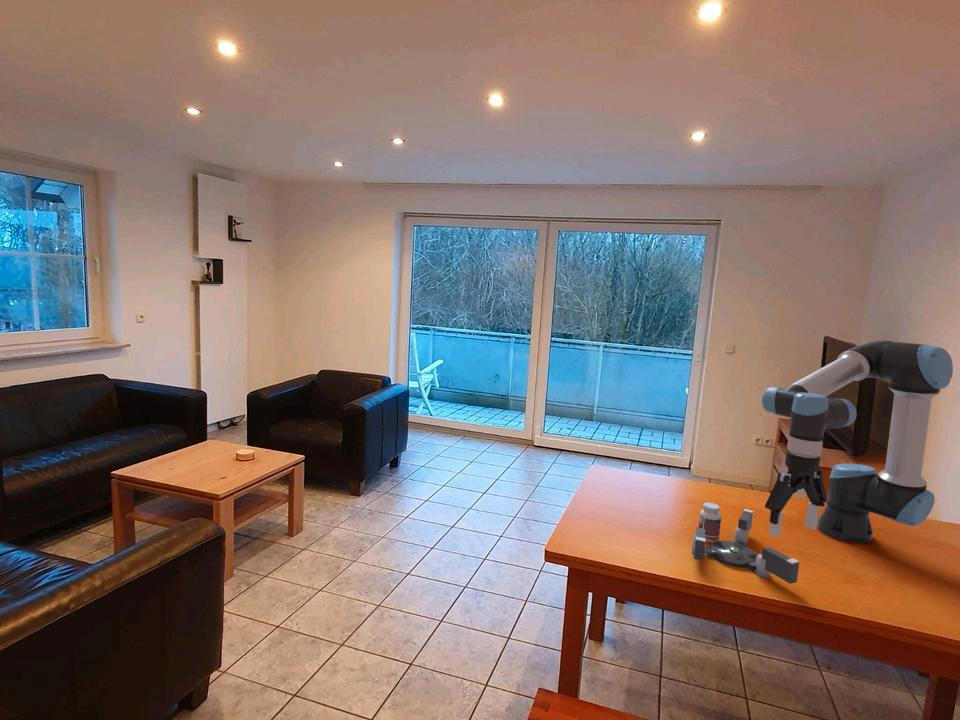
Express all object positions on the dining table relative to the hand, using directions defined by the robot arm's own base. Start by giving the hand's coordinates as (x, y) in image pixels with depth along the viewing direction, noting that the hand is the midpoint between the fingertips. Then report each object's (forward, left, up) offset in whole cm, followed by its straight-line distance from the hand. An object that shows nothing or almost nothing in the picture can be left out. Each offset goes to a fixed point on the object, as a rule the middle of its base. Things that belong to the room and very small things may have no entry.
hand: (792, 531), depth 140 cm
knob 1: (+2, -27, -16) cm, 31 cm away
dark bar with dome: (+19, -11, -16) cm, 27 cm away
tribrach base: (+8, -15, -16) cm, 23 cm away
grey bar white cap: (+1, -3, -16) cm, 16 cm away
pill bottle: (+12, -25, -16) cm, 33 cm away
